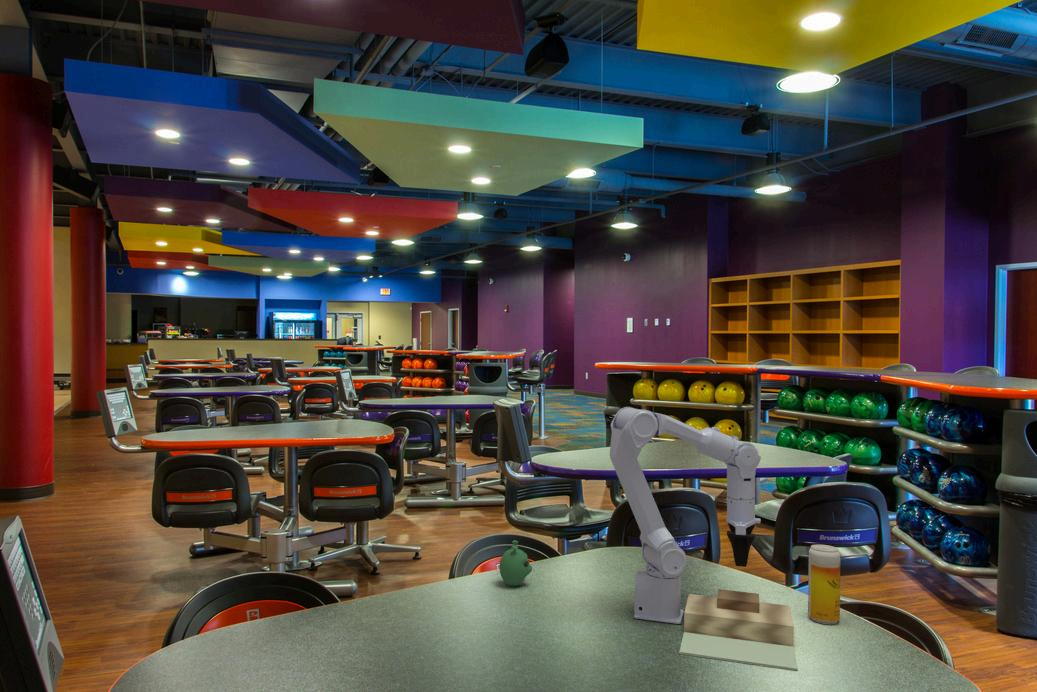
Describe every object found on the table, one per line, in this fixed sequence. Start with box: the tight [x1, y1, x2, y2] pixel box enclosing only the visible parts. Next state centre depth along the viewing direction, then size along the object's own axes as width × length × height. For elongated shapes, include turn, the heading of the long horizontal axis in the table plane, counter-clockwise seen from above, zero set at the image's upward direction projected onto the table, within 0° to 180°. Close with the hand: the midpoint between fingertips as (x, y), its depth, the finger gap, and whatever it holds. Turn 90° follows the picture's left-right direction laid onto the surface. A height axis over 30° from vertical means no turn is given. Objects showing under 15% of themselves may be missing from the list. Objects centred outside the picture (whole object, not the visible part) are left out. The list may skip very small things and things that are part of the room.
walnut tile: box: [716, 589, 760, 613], centre depth 142 cm, size 8×6×2 cm
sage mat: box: [678, 631, 798, 672], centre depth 129 cm, size 20×10×1 cm, turn 72°
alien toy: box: [499, 539, 533, 587], centre depth 165 cm, size 7×8×10 cm
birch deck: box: [683, 593, 795, 647], centre depth 140 cm, size 20×12×4 cm, turn 72°
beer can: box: [807, 544, 841, 625], centre depth 147 cm, size 6×6×15 cm
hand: (741, 561), depth 151 cm, fingers open, 7 cm apart
